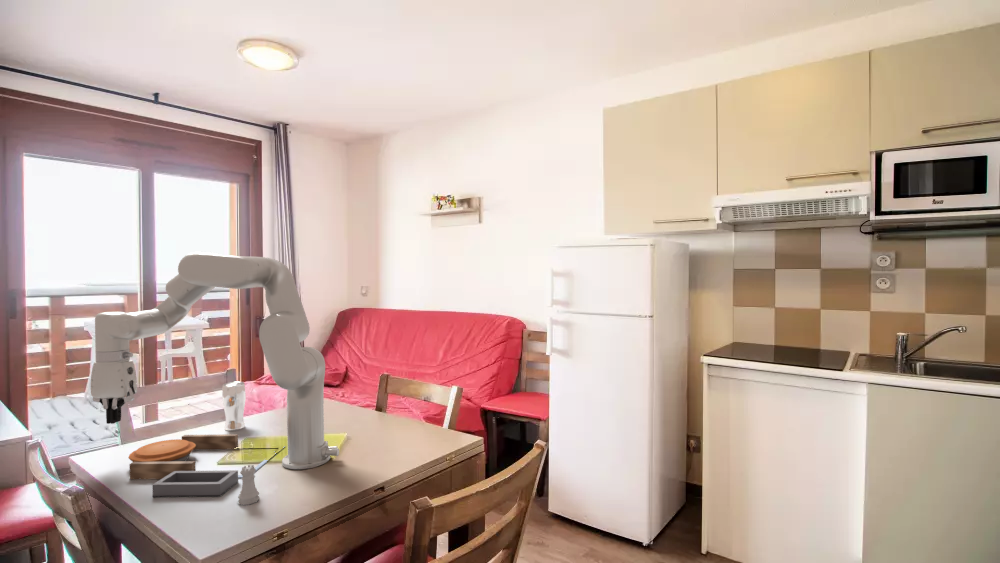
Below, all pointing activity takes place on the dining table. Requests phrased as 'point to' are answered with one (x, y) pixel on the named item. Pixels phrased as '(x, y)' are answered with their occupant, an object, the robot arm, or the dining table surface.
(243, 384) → the beer glass
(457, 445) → the dining table surface
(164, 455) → the pie
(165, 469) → the channel walls
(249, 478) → the rook chess piece
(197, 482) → the grey tray
